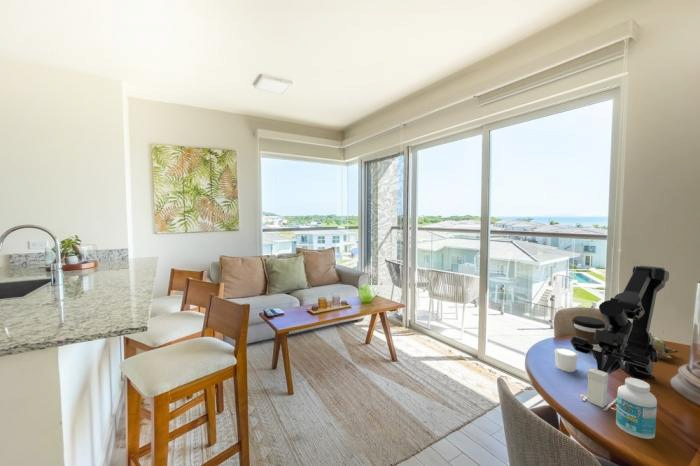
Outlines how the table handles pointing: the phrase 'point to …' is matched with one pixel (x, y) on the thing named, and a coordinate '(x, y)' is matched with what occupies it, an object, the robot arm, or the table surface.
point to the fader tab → (597, 387)
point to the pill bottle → (636, 409)
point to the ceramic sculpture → (662, 348)
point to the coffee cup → (587, 327)
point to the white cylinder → (566, 359)
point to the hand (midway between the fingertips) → (600, 378)
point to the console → (606, 406)
